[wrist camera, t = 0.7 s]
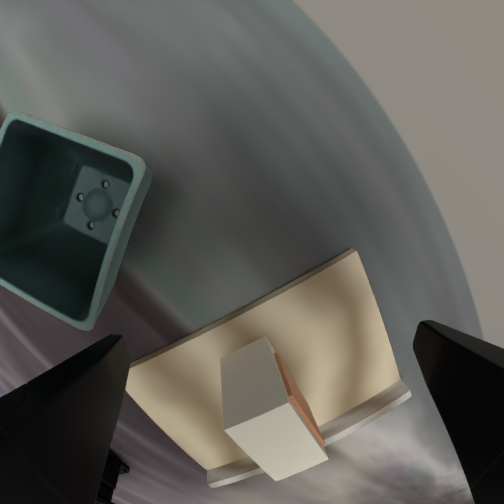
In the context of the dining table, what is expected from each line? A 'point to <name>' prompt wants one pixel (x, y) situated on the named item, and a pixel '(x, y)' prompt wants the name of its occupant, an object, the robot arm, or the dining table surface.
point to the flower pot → (65, 216)
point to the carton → (268, 411)
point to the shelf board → (292, 355)
